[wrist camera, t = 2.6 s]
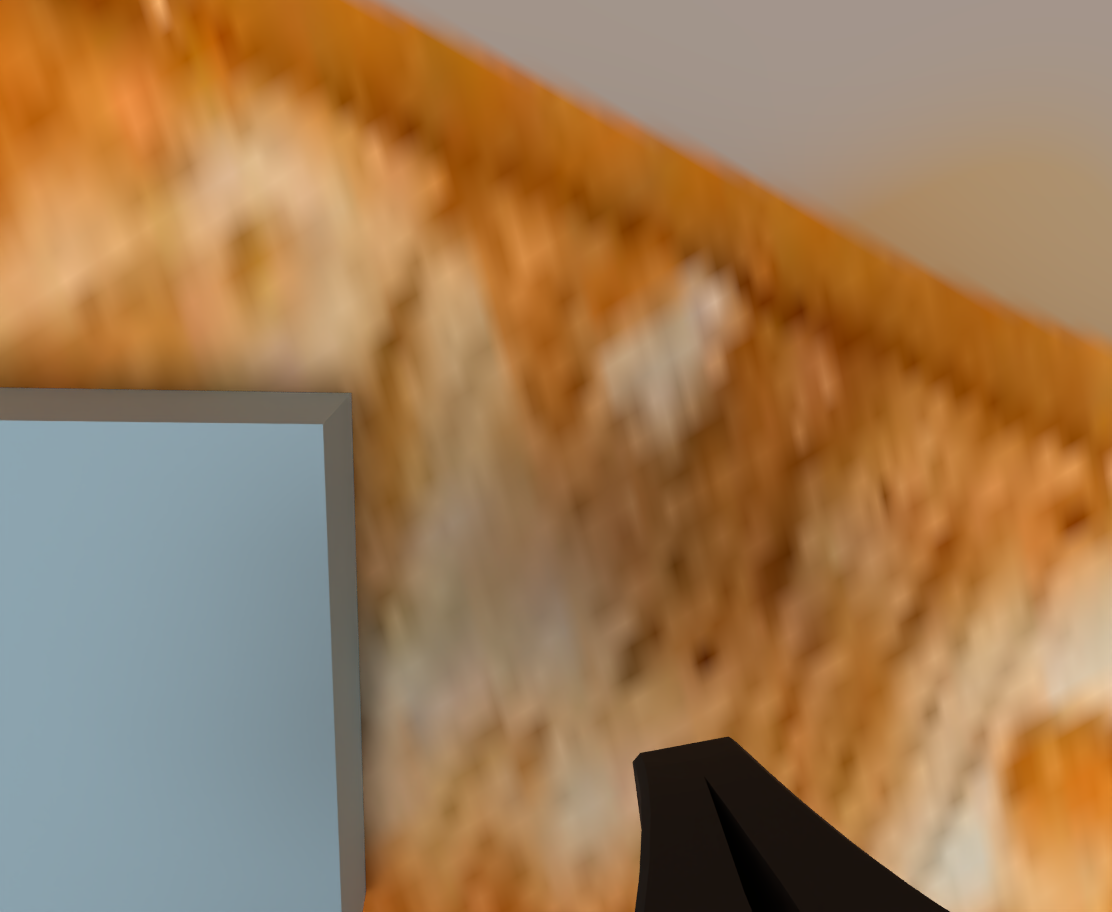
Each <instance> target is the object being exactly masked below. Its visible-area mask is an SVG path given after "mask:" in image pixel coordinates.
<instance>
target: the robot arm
mask: <svg viewBox="0 0 1112 912" xmlns="http://www.w3.org/2000/svg"><path fill="white" fill-rule="evenodd" d="M633 768H634V776H635V783H636V791H637V798H638V806H639V814H640V821H641V829H642V833H641V855H640V873H639V884H638V892H637V900H636V908H635V912H950V911H948V910H946V909H945V908H943V907H942V906H940V905H938V904H937V903H935V902H934V901H932V900H931V899H929V898H928V897H926V896H925V895H924V894H922V893H921V892H919V891H918V890H916V889H915V888H913V887H912V886H911V885H909V884H908V883H906V882H905V881H904V880H902V879H901V878H899V877H898V876H897V875H895V874H894V873H893V872H891V871H890V870H888V869H887V868H886V867H884V866H883V865H882V864H880V863H879V862H877V861H876V860H875V859H873V858H872V857H871V856H869V855H868V854H867V853H865V852H864V851H863V850H862V849H860V848H859V847H858V846H856V845H855V844H854V843H852V842H851V841H850V840H849V839H847V838H846V837H845V836H844V835H842V834H841V833H840V832H839V831H838V830H836V829H835V828H834V827H833V826H831V825H830V824H829V823H828V822H826V821H825V820H824V819H823V818H822V817H820V816H819V815H818V814H817V813H815V812H814V811H813V810H812V809H811V808H809V807H808V806H807V805H806V804H805V803H803V802H802V801H801V800H800V799H799V798H798V797H796V796H795V795H794V794H793V793H792V792H791V791H790V790H788V789H787V788H786V787H785V786H784V785H783V784H782V783H781V782H779V781H778V780H777V779H776V778H775V777H774V776H773V775H772V774H770V773H769V772H768V771H767V770H766V769H765V768H764V767H763V766H762V765H761V764H759V763H758V762H757V761H756V760H755V759H754V758H753V757H752V756H751V755H750V754H749V753H748V752H747V751H745V750H744V749H743V748H742V747H741V746H740V745H739V744H738V743H737V742H735V741H734V740H733V739H731V738H730V737H724V738H718V739H713V740H708V741H702V742H697V743H692V744H686V745H681V746H676V747H670V748H665V749H659V750H654V751H649V752H643V753H640V754H639V755H638V756H637V758H636V759H635V760H634V761H633Z"/></svg>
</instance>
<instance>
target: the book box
mask: <svg viewBox="0 0 1112 912" xmlns="http://www.w3.org/2000/svg"><path fill="white" fill-rule="evenodd" d="M365 895H366V874H365V840H364V806H363V772H362V738H361V704H360V670H359V636H358V602H357V568H356V534H355V500H354V466H353V432H352V398H351V393H320V392H257V391H194V390H131V389H67V388H4V387H0V912H363V906H364V900H365Z"/></svg>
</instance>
